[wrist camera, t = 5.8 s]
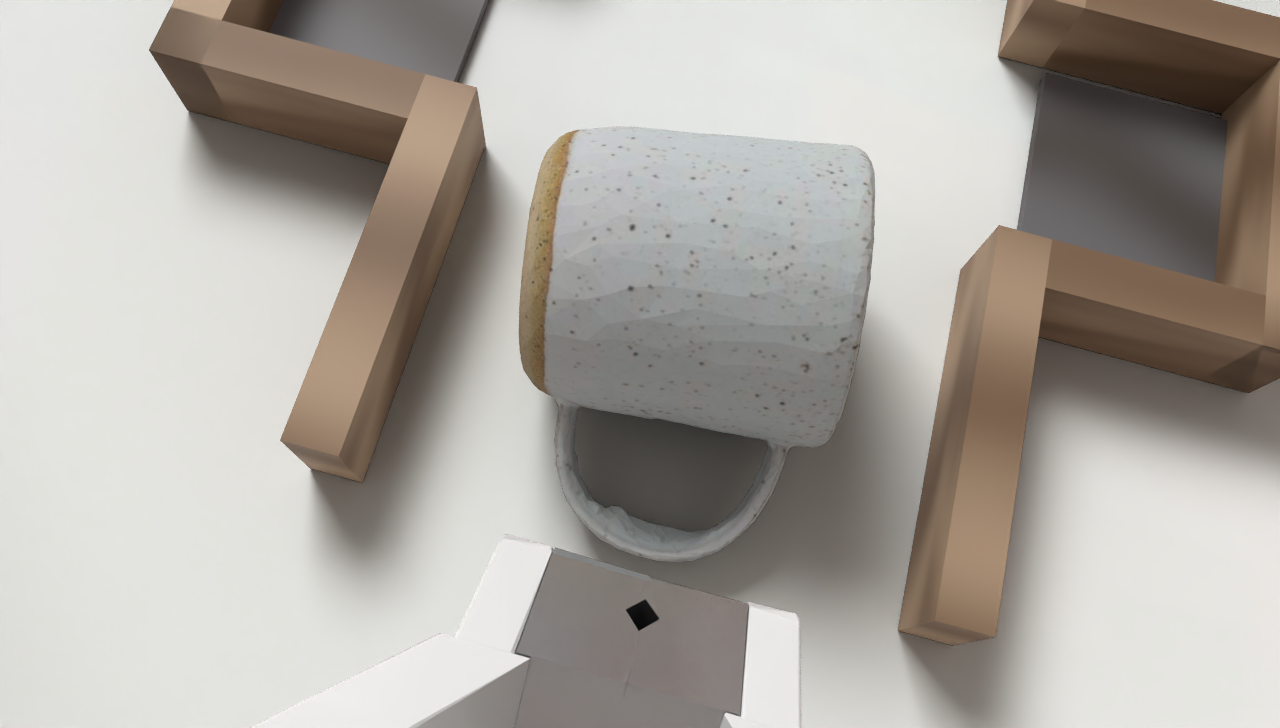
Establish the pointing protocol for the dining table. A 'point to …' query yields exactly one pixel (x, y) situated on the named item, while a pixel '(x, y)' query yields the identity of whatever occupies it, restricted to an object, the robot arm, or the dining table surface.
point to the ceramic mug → (695, 298)
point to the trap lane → (988, 283)
